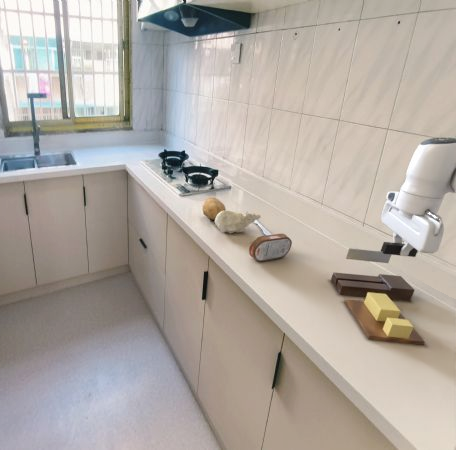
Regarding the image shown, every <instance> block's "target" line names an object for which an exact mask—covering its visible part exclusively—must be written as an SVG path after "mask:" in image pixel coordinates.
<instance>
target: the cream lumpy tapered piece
mask: <svg viewBox="0 0 456 450" xmlns="http://www.w3.org/2000/svg"><path fill="white" fill-rule="evenodd" d="M248 212H249V211H246V213H241V212H235V211H230V210H226V211H221V212H220V213H219V214H217V216H216V219H215V220H214V224H215V226H216V227H217V228H218V229H219V230H220V231H221V232H223V233H229V234H231V235H232V234H234V233H243V232H244V231H245V230H246V229H247V227H248V226H250V225H251V224H252V223H254V221H255V220H257V221H258V220H260V219H261V216H262V215H260V214H255V213H254V212H252V213H251V212H250V213H251V214H250V213H248Z"/></svg>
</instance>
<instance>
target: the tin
mask: <svg viewBox="0 0 456 450" xmlns="http://www.w3.org/2000/svg"><path fill="white" fill-rule="evenodd" d="M292 245H293V241H292V239H291V238H290V237H289V236H287V234H285V233H275V234H272V235H265V234H264V235H260V236H258V237H256V238H255V239H254V240H252V242H251V244H250V246H249V249H248V252H249V256H250V257H251V258H253V259H254V260H255V261H257V262H264V261H265V262H266V261H272V260H278V259H282V258H284V257H286V256H287V255H288V253H289V252H290V250H291V248H292Z"/></svg>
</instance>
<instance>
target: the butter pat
mask: <svg viewBox="0 0 456 450" xmlns="http://www.w3.org/2000/svg"><path fill="white" fill-rule="evenodd" d="M413 328H414V325H413V324H412V323H411V321H410V320H409V319H406V318H405V319H396V318H387V319H386V322H385V324H384V327H383V330H384V332H385V333H386V335H387V336H389V337H397V338H406V339H409V336H410V334H411V332H412V329H413Z"/></svg>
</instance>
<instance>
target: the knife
mask: <svg viewBox="0 0 456 450" xmlns="http://www.w3.org/2000/svg"><path fill="white" fill-rule="evenodd" d="M404 245H405V244H404V243H403V242H402V243H393V242H391V241H383V243H382V246H381V248H380V250H371V249H361V248H351V247H349V248H348V251H347V255H346V257H345V259H346V260H353V261H362V262H373V263H382V264H389V262H390V260H391V258H392V256H401V255H400V254H399V253H398V251H399V248H400V247H401V248H402V247H403V246H404ZM418 252H419V251H418V250H417V249H415V248H413V249H412V250H410V252H409V254H408V256H407V257H412V258H416V256H417V253H418ZM401 257H402V256H401Z"/></svg>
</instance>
